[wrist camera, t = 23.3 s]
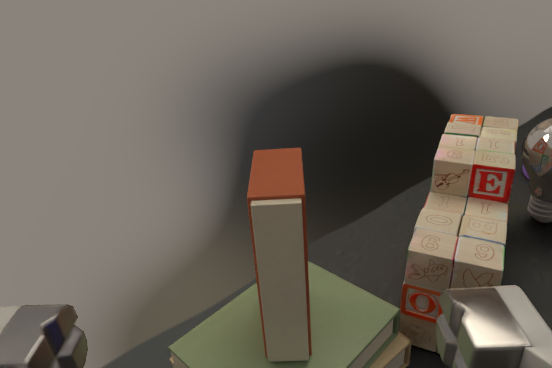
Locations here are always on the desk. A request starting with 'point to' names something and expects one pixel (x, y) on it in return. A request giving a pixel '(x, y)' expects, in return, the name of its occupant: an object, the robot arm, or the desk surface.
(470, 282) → the stack of blocks
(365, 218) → the desk surface
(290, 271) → the pocket book
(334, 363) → the book stack
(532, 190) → the light bulb
